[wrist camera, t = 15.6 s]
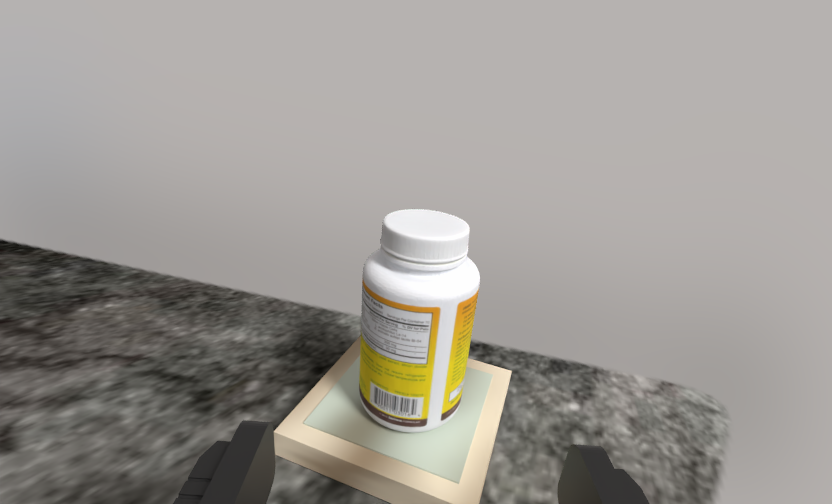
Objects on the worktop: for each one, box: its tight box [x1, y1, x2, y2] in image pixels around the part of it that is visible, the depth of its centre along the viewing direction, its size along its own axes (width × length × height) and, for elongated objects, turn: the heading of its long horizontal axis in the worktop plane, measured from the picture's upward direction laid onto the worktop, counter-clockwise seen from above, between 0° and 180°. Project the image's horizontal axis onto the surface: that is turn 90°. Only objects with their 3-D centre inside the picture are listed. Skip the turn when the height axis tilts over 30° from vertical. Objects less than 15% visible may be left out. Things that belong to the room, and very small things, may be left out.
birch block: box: [274, 335, 512, 504], centre depth 23 cm, size 10×10×2 cm
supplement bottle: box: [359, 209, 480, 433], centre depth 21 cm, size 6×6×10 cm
